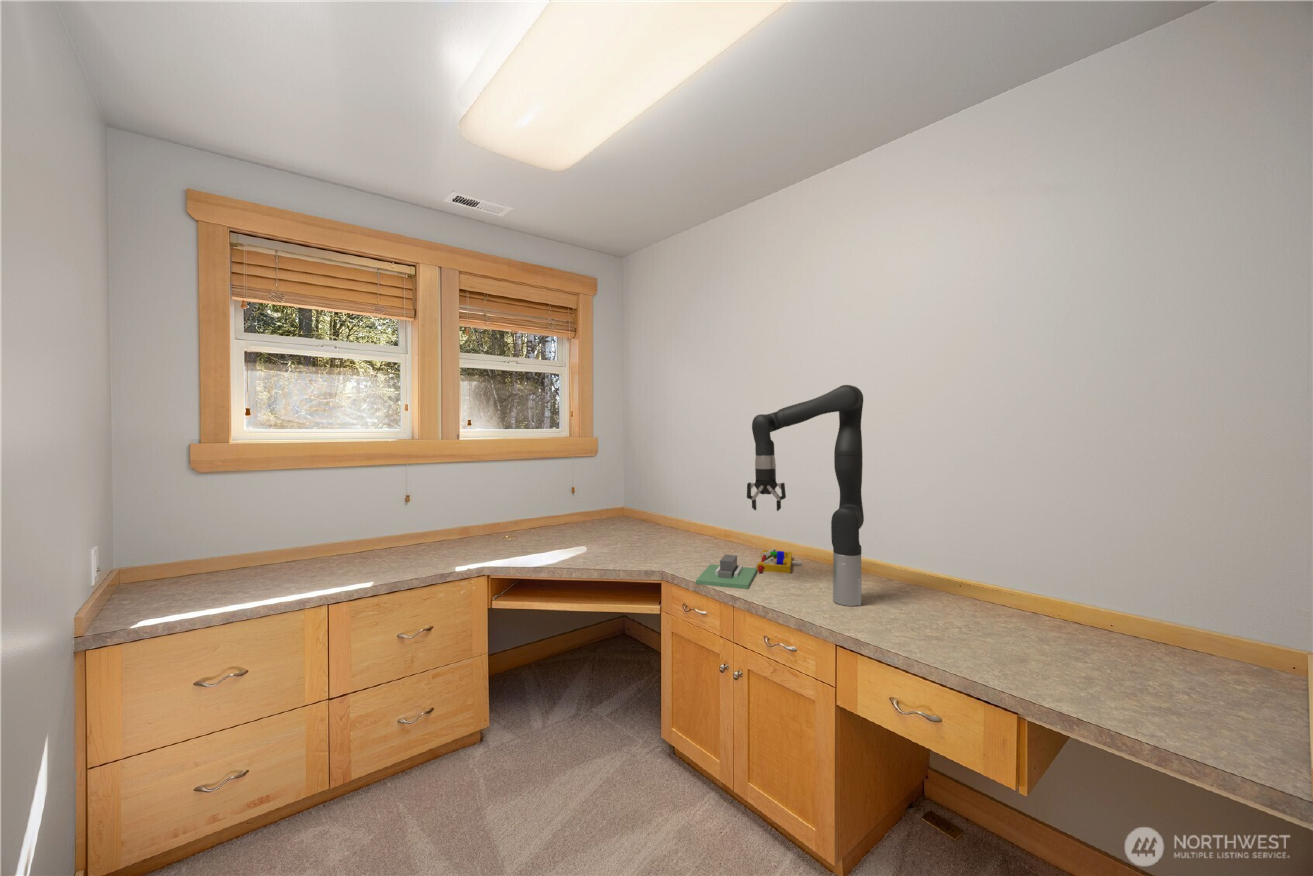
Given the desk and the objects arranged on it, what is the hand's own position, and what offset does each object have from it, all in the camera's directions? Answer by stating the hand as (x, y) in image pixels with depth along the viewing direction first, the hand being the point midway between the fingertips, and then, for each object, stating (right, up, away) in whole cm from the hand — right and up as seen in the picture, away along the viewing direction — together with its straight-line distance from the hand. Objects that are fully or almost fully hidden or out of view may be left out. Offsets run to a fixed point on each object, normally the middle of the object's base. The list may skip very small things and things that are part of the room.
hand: (766, 510), depth 200 cm
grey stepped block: (-13, -27, +14) cm, 33 cm away
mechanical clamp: (+12, -29, +31) cm, 44 cm away
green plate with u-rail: (-13, -29, +14) cm, 35 cm away
